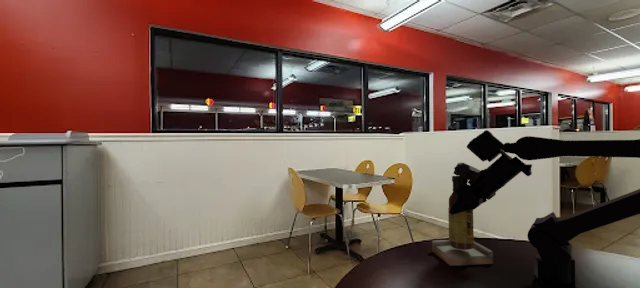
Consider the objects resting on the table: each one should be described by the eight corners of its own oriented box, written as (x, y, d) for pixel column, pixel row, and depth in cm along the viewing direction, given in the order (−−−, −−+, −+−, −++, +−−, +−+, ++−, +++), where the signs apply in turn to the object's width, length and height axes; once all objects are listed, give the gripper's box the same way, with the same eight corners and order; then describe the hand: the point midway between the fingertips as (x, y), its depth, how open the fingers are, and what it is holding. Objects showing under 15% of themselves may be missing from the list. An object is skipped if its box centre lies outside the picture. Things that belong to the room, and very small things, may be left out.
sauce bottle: (472, 252, 74) (471, 177, 75) (447, 248, 77) (446, 176, 78) (474, 245, 80) (473, 175, 80) (450, 241, 83) (449, 174, 83)
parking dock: (470, 249, 85) (470, 238, 85) (492, 263, 75) (492, 251, 75) (432, 251, 84) (432, 240, 84) (450, 265, 74) (450, 253, 74)
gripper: (481, 151, 83) (444, 185, 91) (462, 154, 70) (420, 193, 77) (514, 179, 78) (472, 213, 85) (500, 188, 64) (451, 227, 72)
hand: (454, 211), depth 80 cm, fingers closed on sauce bottle, 6 cm apart
